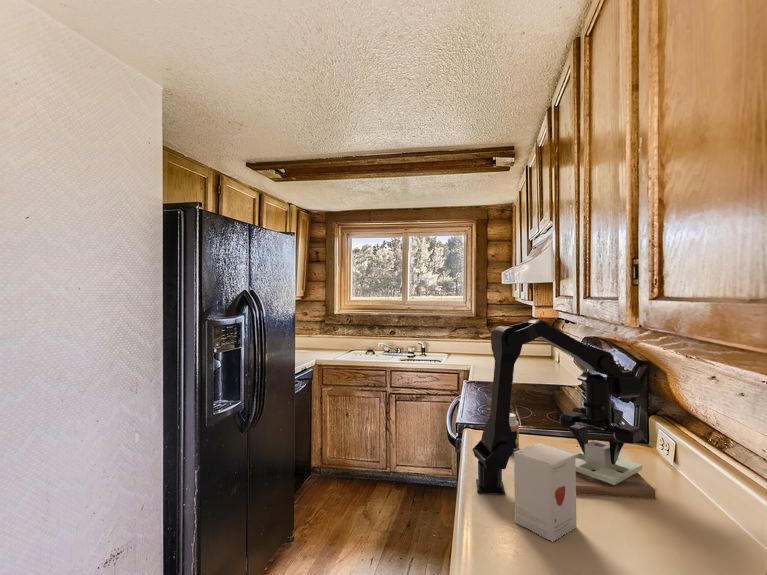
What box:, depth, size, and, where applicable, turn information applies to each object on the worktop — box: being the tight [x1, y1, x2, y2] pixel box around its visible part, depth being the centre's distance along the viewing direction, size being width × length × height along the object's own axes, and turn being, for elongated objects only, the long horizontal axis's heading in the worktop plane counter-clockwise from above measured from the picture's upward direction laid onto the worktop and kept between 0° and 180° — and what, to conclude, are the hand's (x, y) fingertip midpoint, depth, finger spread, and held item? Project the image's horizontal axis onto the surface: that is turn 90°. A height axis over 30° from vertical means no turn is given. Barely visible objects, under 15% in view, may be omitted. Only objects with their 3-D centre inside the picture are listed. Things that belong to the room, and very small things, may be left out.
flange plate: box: [574, 439, 643, 485], centre depth 106 cm, size 14×14×6 cm
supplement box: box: [513, 442, 578, 542], centre depth 85 cm, size 9×9×15 cm
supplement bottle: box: [509, 412, 520, 451], centre depth 128 cm, size 6×6×10 cm
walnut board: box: [576, 458, 656, 500], centre depth 106 cm, size 18×18×7 cm
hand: (599, 459), depth 106 cm, fingers open, 7 cm apart
